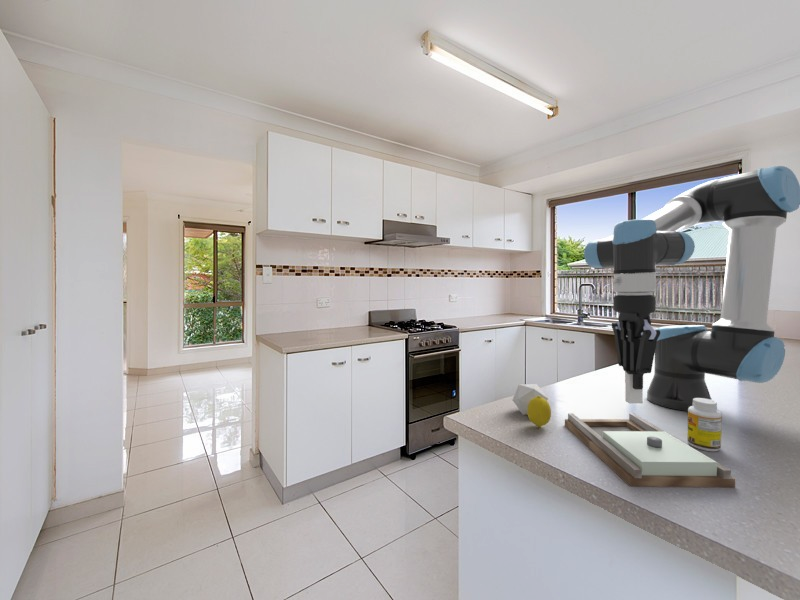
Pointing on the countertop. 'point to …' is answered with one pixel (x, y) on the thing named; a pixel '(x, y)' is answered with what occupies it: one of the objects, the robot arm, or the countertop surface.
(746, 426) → the countertop surface
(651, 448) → the slide cover
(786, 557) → the countertop surface
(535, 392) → the die
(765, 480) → the countertop surface
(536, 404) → the lemon
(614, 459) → the wooden sliding lid box
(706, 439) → the supplement bottle
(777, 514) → the countertop surface
